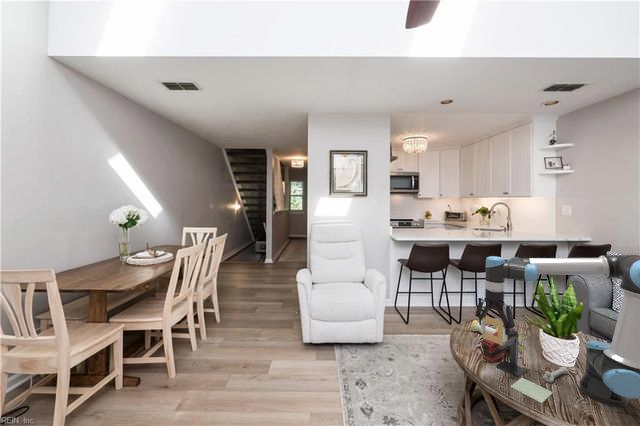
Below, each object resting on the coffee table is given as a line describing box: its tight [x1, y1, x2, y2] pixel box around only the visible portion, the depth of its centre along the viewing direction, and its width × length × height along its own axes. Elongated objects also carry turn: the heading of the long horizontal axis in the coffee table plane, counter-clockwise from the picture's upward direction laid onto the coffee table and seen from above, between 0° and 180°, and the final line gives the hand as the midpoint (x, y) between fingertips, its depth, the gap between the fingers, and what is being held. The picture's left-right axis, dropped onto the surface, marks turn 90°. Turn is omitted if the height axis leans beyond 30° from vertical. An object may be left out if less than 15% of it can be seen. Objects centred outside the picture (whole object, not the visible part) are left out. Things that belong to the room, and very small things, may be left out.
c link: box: [482, 315, 505, 346], centre depth 130 cm, size 9×2×10 cm, turn 32°
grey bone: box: [542, 366, 569, 384], centre depth 134 cm, size 18×5×4 cm
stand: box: [495, 336, 528, 379], centre depth 137 cm, size 10×17×16 cm, turn 122°
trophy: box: [470, 319, 528, 353], centre depth 170 cm, size 8×8×30 cm
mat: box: [509, 377, 554, 404], centre depth 125 cm, size 12×12×1 cm
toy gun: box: [480, 327, 520, 364], centre depth 151 cm, size 5×24×15 cm, turn 112°
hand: (493, 336), depth 130 cm, fingers closed on c link, 9 cm apart
